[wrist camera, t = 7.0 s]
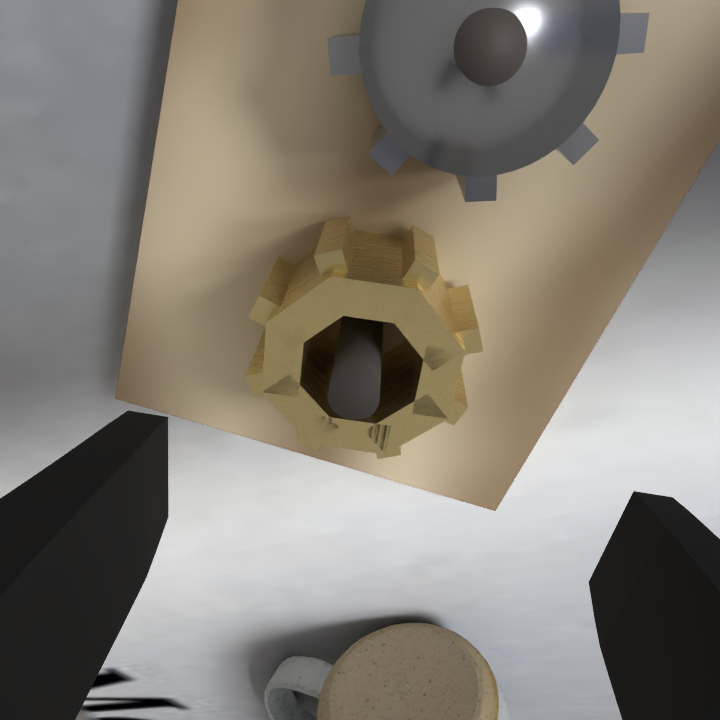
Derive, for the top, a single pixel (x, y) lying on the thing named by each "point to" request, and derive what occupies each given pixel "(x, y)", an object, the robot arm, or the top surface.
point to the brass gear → (373, 302)
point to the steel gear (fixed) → (483, 103)
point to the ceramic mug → (392, 680)
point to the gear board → (399, 224)
